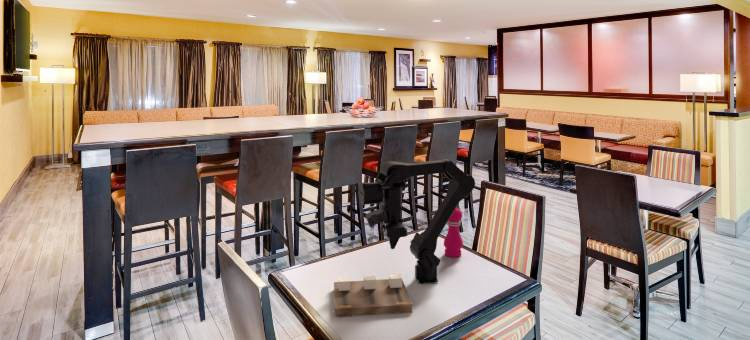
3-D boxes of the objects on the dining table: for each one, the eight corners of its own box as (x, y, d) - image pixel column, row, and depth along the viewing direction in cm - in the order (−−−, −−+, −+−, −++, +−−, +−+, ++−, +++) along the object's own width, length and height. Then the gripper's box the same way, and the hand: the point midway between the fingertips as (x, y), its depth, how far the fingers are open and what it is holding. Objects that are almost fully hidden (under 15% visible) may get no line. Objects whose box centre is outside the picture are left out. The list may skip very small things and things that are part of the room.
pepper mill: (441, 256, 166) (442, 205, 162) (445, 249, 173) (447, 200, 169) (460, 259, 164) (462, 207, 160) (464, 252, 170) (465, 202, 166)
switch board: (401, 285, 143) (401, 278, 142) (412, 312, 126) (412, 304, 126) (334, 289, 140) (333, 281, 140) (335, 317, 124) (335, 308, 123)
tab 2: (375, 284, 137) (375, 275, 137) (376, 288, 134) (376, 279, 134) (363, 285, 137) (363, 276, 136) (364, 289, 134) (364, 280, 133)
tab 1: (349, 285, 136) (349, 276, 136) (350, 290, 133) (350, 281, 133) (338, 286, 136) (337, 277, 135) (338, 291, 133) (338, 281, 132)
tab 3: (400, 283, 138) (400, 274, 138) (401, 287, 135) (402, 278, 135) (389, 283, 138) (389, 274, 137) (390, 288, 135) (390, 278, 134)
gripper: (364, 195, 146) (364, 239, 149) (370, 211, 128) (370, 261, 131) (397, 194, 147) (397, 238, 150) (407, 209, 129) (407, 259, 132)
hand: (392, 248), depth 141 cm, fingers closed
